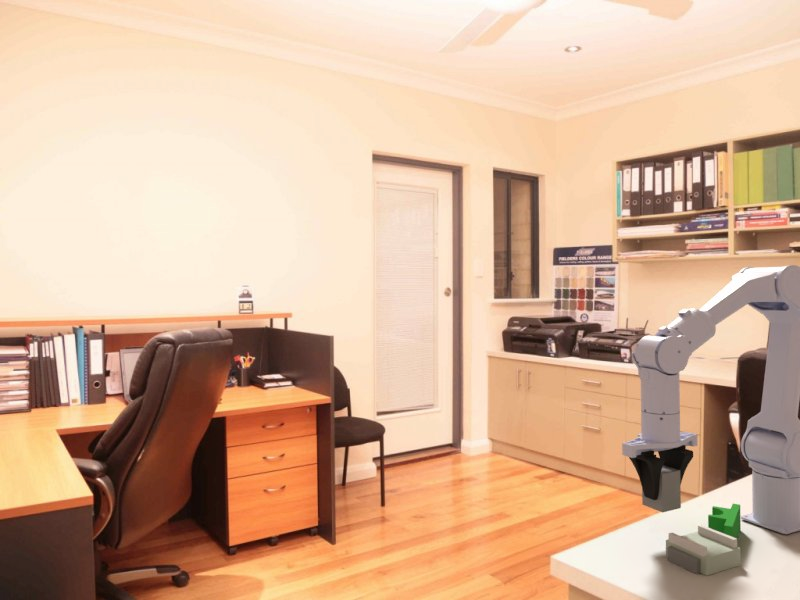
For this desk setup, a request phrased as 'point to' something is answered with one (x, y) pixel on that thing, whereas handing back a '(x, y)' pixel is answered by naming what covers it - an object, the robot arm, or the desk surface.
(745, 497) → the desk surface
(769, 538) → the desk surface
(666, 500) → the dark grey block
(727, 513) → the pipe clamp
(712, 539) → the pale grey-green blocky piece
